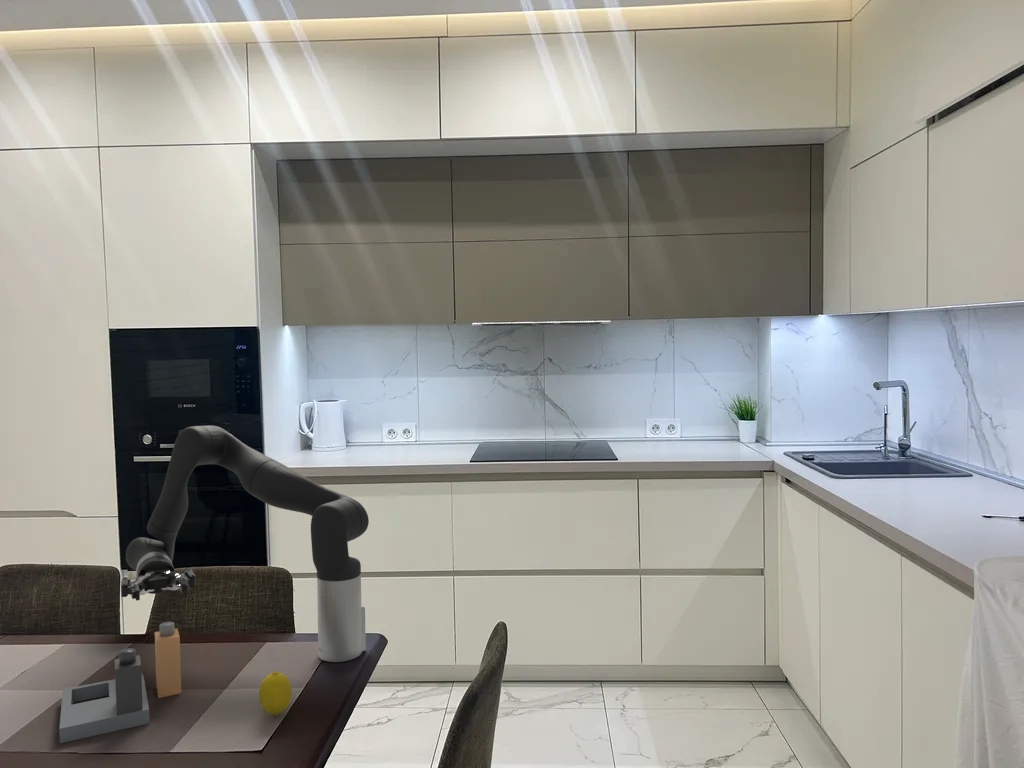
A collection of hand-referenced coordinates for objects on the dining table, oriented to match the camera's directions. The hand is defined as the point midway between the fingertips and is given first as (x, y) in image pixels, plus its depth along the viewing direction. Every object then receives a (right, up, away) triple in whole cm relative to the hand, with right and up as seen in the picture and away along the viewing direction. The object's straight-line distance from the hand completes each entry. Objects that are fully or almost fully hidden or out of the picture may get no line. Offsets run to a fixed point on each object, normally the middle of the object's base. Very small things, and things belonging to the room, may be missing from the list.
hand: (161, 592), depth 154 cm
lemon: (+30, -17, -20) cm, 39 cm away
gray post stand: (-2, -17, -18) cm, 25 cm away
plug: (+6, -16, -9) cm, 20 cm away
